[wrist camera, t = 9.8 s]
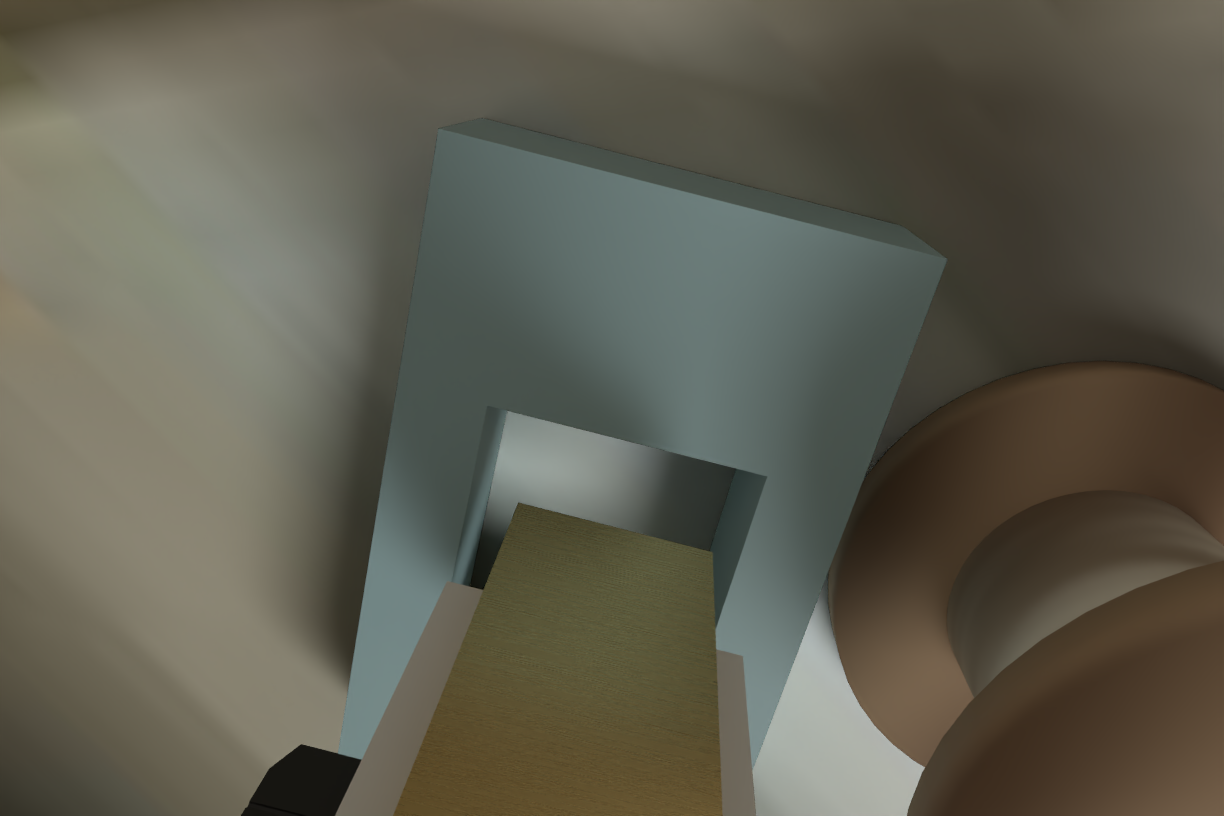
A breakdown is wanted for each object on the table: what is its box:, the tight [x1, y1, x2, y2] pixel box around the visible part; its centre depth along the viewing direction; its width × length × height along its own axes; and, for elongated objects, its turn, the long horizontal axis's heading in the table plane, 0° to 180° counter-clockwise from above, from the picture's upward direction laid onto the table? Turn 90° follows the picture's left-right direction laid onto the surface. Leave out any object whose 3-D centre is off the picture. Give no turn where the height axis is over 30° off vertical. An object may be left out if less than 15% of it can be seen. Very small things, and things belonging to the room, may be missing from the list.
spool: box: [828, 361, 1224, 816], centre depth 17 cm, size 11×11×9 cm
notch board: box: [338, 118, 948, 770], centre depth 20 cm, size 16×9×4 cm, turn 167°
